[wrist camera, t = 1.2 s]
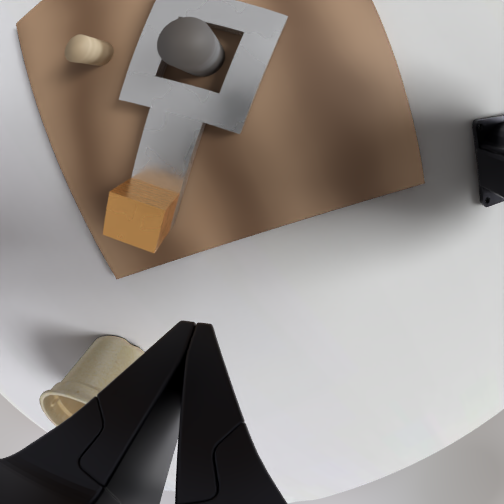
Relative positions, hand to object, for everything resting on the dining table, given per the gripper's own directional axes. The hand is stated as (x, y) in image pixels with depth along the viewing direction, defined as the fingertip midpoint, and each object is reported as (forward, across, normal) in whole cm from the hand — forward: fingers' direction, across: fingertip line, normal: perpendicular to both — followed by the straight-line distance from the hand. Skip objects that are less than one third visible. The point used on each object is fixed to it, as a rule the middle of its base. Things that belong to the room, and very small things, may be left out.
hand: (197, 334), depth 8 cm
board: (+12, +3, -8) cm, 15 cm away
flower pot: (+12, +10, +16) cm, 22 cm away
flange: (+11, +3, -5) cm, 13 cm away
